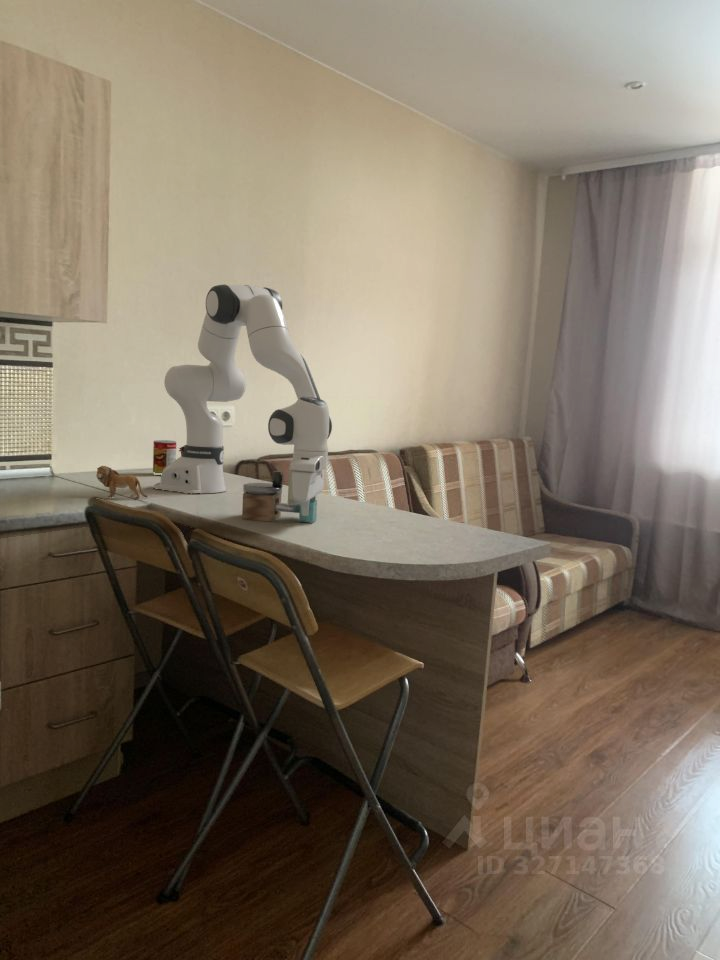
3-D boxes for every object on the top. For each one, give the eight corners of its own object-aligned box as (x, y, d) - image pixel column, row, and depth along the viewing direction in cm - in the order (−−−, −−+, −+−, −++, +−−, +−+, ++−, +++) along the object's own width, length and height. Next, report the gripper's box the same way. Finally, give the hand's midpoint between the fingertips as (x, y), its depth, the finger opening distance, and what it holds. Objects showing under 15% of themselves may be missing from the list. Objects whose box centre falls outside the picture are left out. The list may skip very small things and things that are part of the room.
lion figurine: (93, 497, 206) (93, 466, 205) (99, 494, 212) (99, 464, 210) (145, 500, 207) (145, 469, 205) (150, 497, 212) (150, 467, 211)
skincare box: (301, 507, 208) (303, 465, 207) (286, 506, 209) (288, 464, 207) (307, 504, 214) (309, 463, 213) (293, 503, 215) (295, 462, 214)
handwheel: (275, 496, 184) (276, 474, 183) (237, 492, 186) (238, 471, 185) (287, 490, 194) (288, 470, 193) (251, 487, 196) (252, 467, 195)
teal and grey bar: (242, 516, 190) (243, 496, 189) (247, 513, 194) (247, 494, 193) (312, 522, 187) (313, 502, 186) (316, 519, 191) (317, 500, 190)
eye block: (242, 519, 188) (243, 493, 187) (251, 513, 195) (252, 489, 195) (272, 521, 186) (273, 495, 185) (280, 516, 194) (281, 491, 193)
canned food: (161, 472, 264) (161, 439, 262) (180, 474, 262) (180, 441, 260) (148, 474, 257) (148, 441, 255) (167, 476, 254) (168, 442, 253)
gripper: (308, 456, 197) (305, 506, 199) (288, 464, 177) (285, 519, 179) (330, 457, 196) (328, 508, 198) (313, 465, 176) (310, 521, 178)
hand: (307, 513), depth 189 cm, fingers closed on teal and grey bar, 4 cm apart
